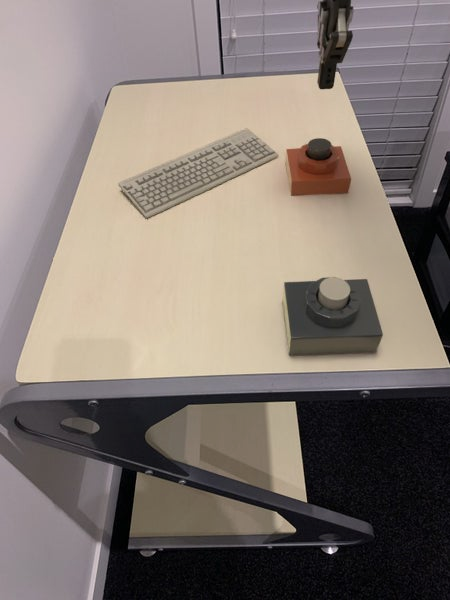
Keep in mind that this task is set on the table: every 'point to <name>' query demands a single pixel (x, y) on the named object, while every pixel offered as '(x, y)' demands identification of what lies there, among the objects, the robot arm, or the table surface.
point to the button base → (317, 172)
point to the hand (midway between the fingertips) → (325, 86)
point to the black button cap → (319, 149)
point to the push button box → (330, 320)
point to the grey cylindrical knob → (333, 293)
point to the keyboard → (196, 172)
